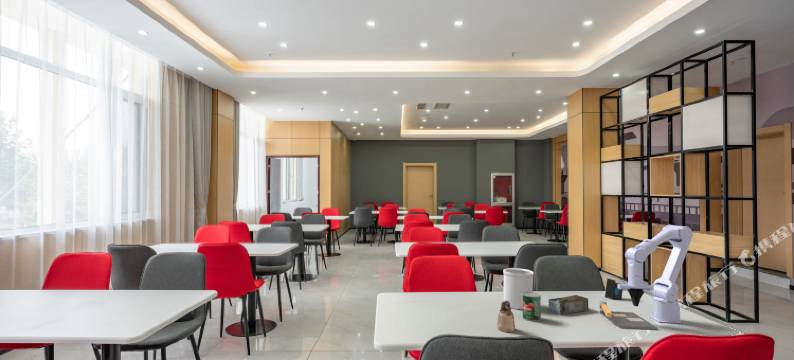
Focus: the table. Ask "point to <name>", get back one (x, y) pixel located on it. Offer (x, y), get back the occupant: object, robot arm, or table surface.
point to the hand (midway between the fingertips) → (635, 305)
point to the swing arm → (605, 308)
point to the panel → (629, 320)
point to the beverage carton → (568, 304)
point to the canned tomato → (531, 306)
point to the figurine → (506, 318)
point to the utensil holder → (517, 285)
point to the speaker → (613, 290)
